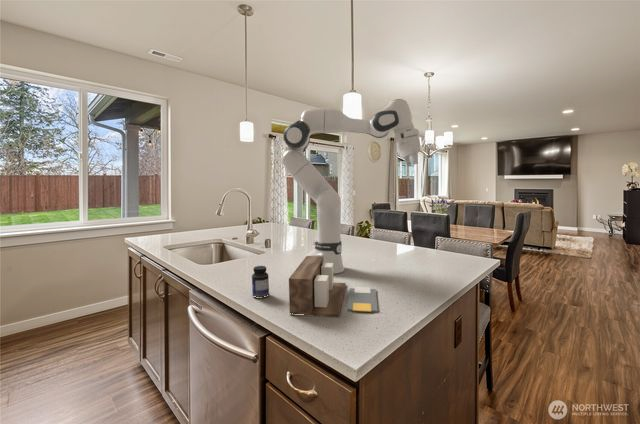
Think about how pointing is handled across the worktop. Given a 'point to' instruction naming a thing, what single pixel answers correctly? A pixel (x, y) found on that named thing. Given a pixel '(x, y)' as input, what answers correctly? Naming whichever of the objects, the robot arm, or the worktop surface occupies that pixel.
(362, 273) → the worktop surface
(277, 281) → the worktop surface
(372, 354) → the worktop surface
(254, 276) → the pill bottle
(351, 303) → the card
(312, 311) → the key panel
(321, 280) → the outer key
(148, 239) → the worktop surface
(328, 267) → the inner key
